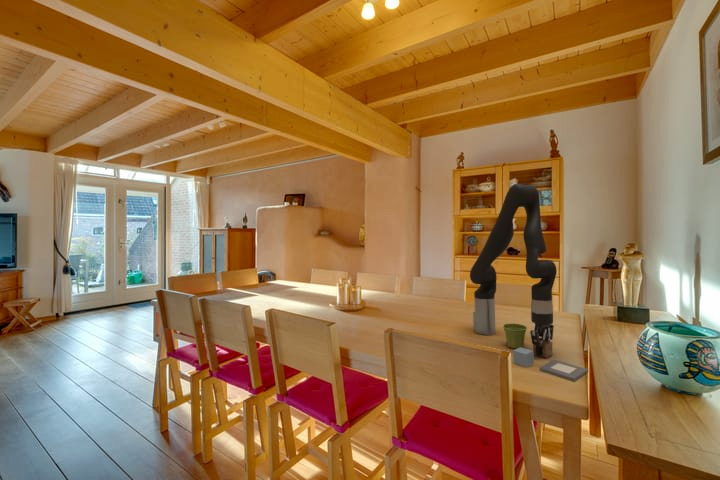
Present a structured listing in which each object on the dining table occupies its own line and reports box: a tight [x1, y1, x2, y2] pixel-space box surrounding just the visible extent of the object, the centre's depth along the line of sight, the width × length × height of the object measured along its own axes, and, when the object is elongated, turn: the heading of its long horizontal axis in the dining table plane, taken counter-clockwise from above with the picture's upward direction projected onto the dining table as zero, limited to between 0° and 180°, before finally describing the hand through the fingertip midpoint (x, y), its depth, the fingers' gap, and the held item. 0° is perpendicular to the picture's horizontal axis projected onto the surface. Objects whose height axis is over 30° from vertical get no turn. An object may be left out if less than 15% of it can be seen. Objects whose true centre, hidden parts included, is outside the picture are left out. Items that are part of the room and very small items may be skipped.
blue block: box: [512, 347, 535, 369], centre depth 120 cm, size 5×5×5 cm
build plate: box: [539, 359, 589, 382], centre depth 112 cm, size 11×11×1 cm
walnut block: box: [532, 340, 554, 359], centre depth 126 cm, size 5×5×5 cm
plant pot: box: [502, 323, 528, 349], centre depth 137 cm, size 9×9×9 cm
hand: (542, 352), depth 126 cm, fingers closed on walnut block, 5 cm apart
